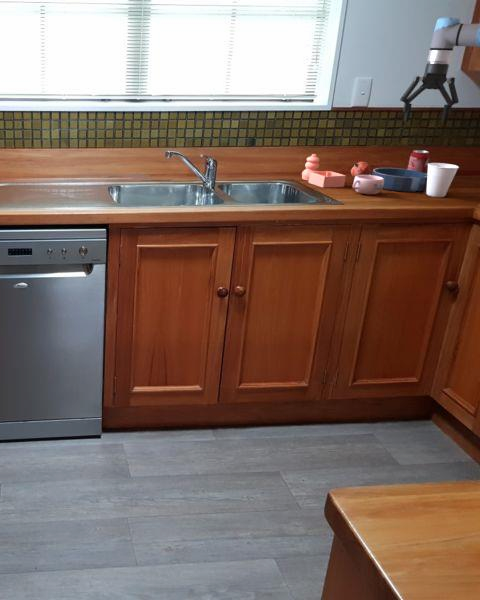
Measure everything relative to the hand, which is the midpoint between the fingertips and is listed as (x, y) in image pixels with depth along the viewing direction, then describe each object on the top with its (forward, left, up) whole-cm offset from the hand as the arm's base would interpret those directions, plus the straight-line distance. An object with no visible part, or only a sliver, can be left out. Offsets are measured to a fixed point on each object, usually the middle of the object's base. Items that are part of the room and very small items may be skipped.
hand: (424, 121), depth 235 cm
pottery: (+37, +11, -24) cm, 45 cm away
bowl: (+8, +12, -23) cm, 27 cm away
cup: (-2, +24, -24) cm, 34 cm away
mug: (+24, +28, -24) cm, 44 cm away
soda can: (-2, -1, -24) cm, 24 cm away
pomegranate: (+19, +2, -20) cm, 28 cm away
